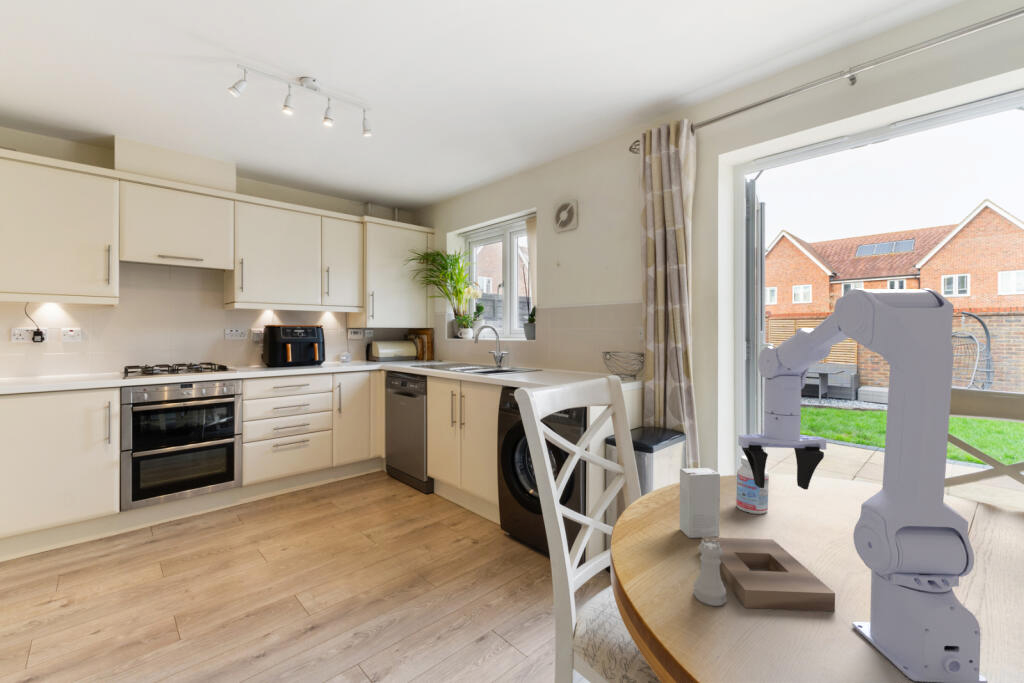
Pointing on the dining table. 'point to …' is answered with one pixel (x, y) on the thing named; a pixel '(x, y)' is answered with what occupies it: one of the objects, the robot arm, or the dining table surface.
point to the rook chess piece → (710, 575)
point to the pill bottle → (751, 490)
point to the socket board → (770, 576)
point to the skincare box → (699, 502)
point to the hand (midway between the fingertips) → (780, 487)
